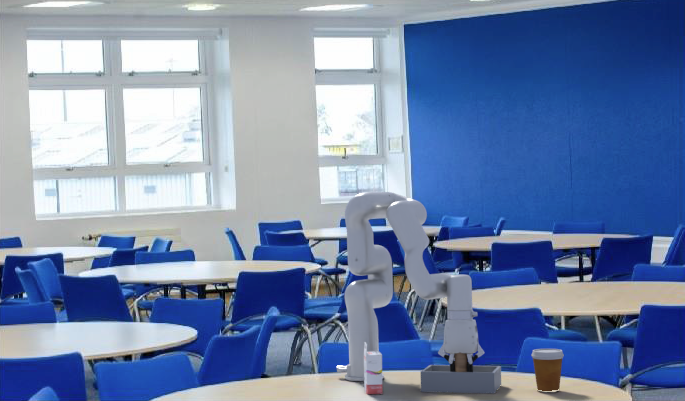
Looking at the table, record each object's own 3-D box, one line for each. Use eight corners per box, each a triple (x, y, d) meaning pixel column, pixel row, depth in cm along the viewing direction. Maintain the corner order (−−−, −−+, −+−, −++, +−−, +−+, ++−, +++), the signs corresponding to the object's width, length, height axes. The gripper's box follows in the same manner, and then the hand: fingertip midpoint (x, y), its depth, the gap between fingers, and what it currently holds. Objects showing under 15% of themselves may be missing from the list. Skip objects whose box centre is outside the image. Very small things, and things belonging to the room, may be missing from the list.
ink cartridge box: (383, 394, 361) (382, 344, 361) (366, 394, 361) (365, 345, 361) (380, 389, 370) (379, 340, 369) (364, 390, 369) (362, 341, 369)
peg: (456, 382, 369) (455, 349, 369) (469, 382, 368) (468, 349, 368) (454, 384, 366) (453, 351, 366) (467, 384, 365) (466, 351, 364)
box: (420, 391, 363) (420, 371, 363) (430, 384, 377) (429, 364, 377) (494, 393, 357) (494, 372, 357) (501, 385, 371) (500, 366, 371)
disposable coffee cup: (545, 395, 353) (544, 353, 353) (525, 390, 361) (524, 350, 361) (571, 391, 357) (570, 350, 357) (551, 387, 366) (550, 347, 366)
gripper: (489, 314, 368) (491, 375, 368) (435, 314, 373) (436, 374, 373) (485, 317, 361) (487, 378, 361) (430, 317, 366) (432, 378, 366)
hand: (461, 376), depth 367 cm, fingers closed on peg, 4 cm apart
